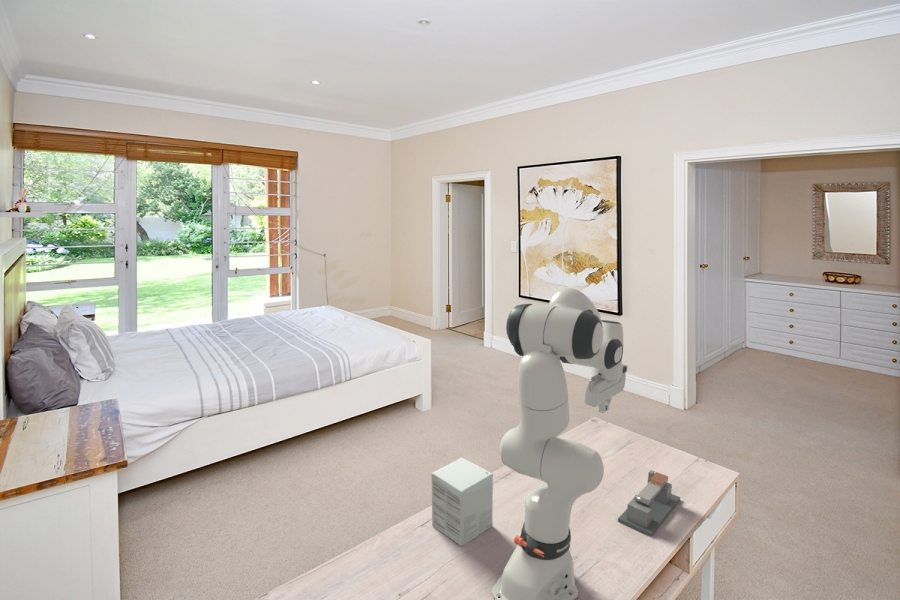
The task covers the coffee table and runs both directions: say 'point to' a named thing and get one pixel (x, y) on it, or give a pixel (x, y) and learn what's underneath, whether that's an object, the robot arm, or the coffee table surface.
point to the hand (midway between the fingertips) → (603, 411)
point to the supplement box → (462, 500)
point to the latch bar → (651, 489)
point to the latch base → (657, 516)
